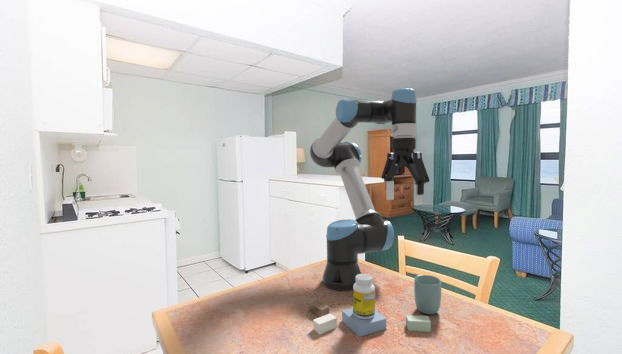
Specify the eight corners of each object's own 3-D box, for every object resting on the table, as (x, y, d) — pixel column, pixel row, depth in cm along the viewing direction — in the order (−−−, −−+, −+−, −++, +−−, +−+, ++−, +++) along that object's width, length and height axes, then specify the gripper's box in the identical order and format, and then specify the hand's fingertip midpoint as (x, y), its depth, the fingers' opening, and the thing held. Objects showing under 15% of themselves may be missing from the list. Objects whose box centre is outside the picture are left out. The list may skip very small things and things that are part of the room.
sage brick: (408, 331, 83) (408, 320, 82) (406, 325, 85) (406, 315, 85) (430, 332, 82) (430, 321, 82) (427, 326, 85) (427, 316, 85)
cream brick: (319, 335, 81) (319, 324, 81) (313, 330, 84) (313, 319, 84) (336, 328, 85) (336, 317, 84) (330, 323, 87) (330, 313, 87)
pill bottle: (349, 310, 88) (349, 273, 87) (369, 307, 89) (368, 271, 89) (358, 321, 82) (358, 282, 81) (378, 318, 83) (378, 279, 83)
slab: (342, 320, 88) (341, 310, 88) (367, 313, 92) (367, 304, 91) (358, 337, 80) (358, 326, 80) (386, 328, 83) (386, 318, 83)
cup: (443, 319, 88) (444, 285, 87) (415, 316, 90) (416, 284, 89) (437, 306, 96) (438, 275, 95) (412, 304, 97) (412, 274, 97)
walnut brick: (308, 312, 94) (308, 302, 93) (316, 308, 96) (315, 299, 95) (321, 319, 89) (321, 310, 89) (329, 316, 91) (329, 306, 91)
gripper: (371, 139, 108) (371, 198, 109) (423, 134, 85) (422, 208, 86) (388, 140, 111) (388, 197, 112) (442, 135, 88) (441, 206, 89)
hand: (403, 202), depth 99 cm, fingers open, 13 cm apart
